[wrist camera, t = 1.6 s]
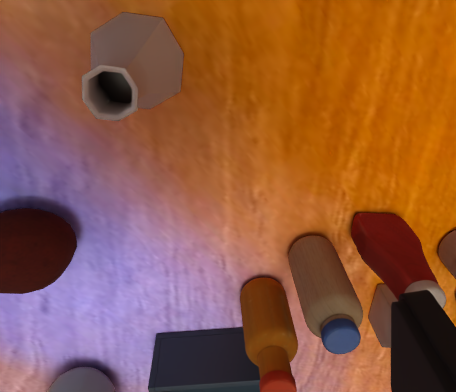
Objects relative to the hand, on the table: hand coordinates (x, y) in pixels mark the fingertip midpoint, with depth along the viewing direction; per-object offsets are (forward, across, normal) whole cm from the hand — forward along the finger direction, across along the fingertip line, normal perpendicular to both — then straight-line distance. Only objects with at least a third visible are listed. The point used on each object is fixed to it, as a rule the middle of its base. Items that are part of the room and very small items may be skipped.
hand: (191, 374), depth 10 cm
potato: (+21, +18, +10) cm, 29 cm away
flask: (+27, +5, -3) cm, 28 cm away
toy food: (+27, -13, +20) cm, 36 cm away
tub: (+27, +4, +31) cm, 41 cm away
